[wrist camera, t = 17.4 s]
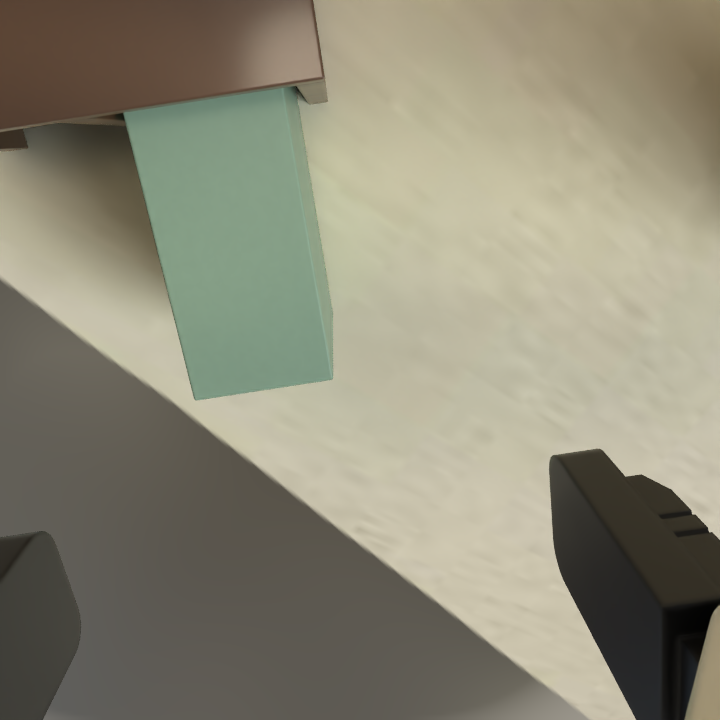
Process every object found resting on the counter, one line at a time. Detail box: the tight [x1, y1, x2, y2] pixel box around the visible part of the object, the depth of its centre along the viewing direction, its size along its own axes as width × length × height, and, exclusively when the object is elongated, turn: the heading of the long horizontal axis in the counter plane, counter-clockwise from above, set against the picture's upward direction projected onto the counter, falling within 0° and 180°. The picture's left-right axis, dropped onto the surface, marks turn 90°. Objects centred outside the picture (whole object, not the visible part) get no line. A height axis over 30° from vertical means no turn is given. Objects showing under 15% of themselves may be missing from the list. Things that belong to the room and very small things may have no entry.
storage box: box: [123, 86, 333, 400], centre depth 31 cm, size 15×6×11 cm, turn 8°
